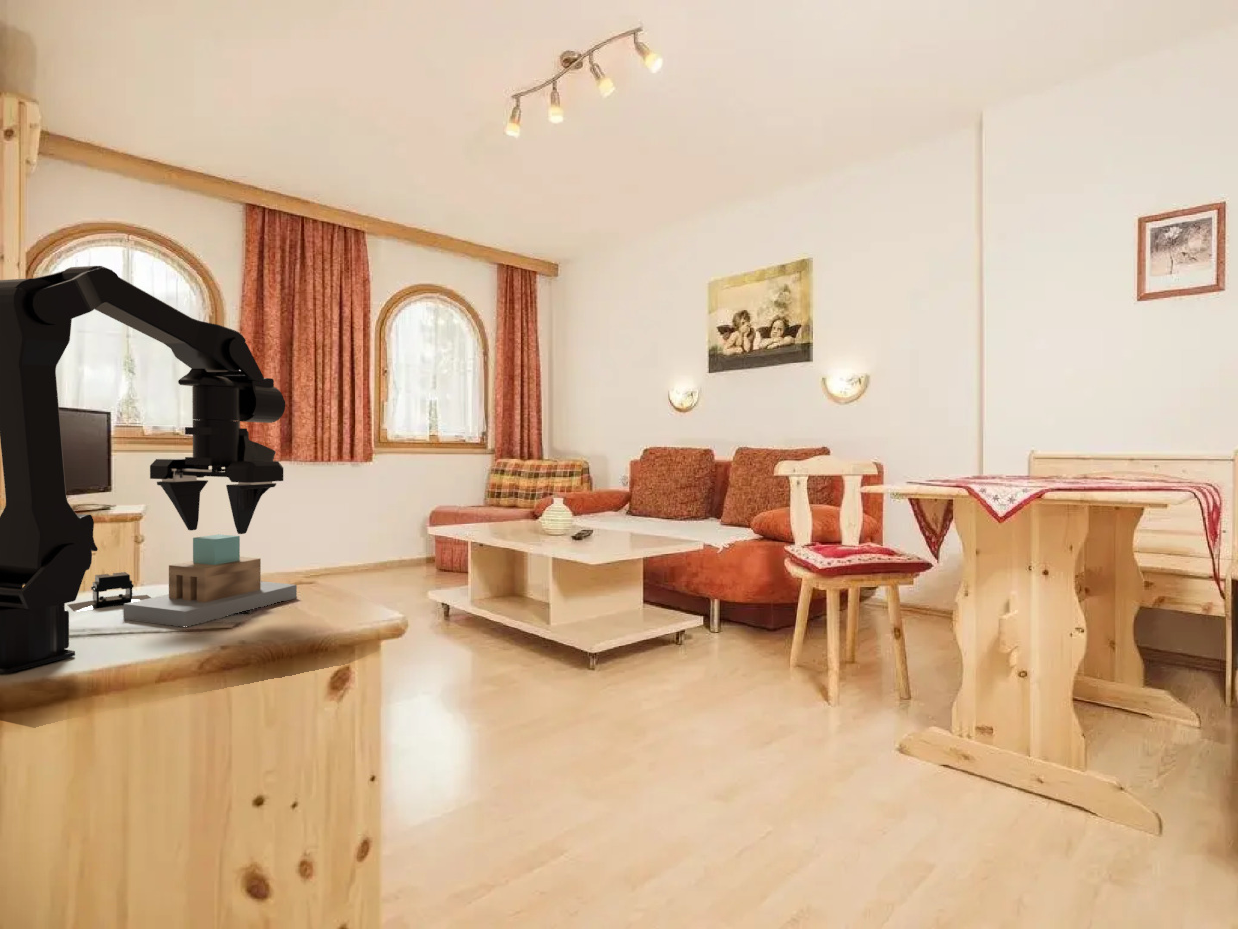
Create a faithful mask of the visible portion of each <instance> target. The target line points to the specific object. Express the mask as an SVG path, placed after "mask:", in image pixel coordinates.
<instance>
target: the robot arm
mask: <svg viewBox="0 0 1238 929" xmlns="http://www.w3.org/2000/svg"><path fill="white" fill-rule="evenodd" d="M94 310H95V311H97V312H99V313H101V314H103V315H105V316H107V317H110V318H112V319H113V320H115V321H117V322H119V323H122V324H124V325H125V326H127V327H130V328H132V329H133V330H136V331H138V332H140V333H142V334H144V335H145V336H148V337H149V338H152V339H153V340H156V341H158V342H159V343H162V344H164V345H165V346H166V347H168V348H169V349H171V352H172V353H173V355H174V357H175V359H177V360H178V361H180V362H182V363H183V364H185V366H187V367H188V368H190V370H189V372H188V373H187V374H184V375H183V376H182V377H181V378H179V379H178V380H177V383H178V384H179V386H187V387H188V386H189V387H192V389H191V391H192V396H191V397H192V401H191V402H192V426H191V427H190V426H188V427H187V426H185V427H184V435H188V436H189V435H192V456H185V457H184V458H155V460H154V461H153V462H152V463H151V464H150V465H149V479H151V480H161V481H156V485H157V486H160V487H161V488H162V490H163V491H164V492H165V494H166V496H167V497H168V498H169V500H170V502H172V503H171V504H173V506H174V508H175V510H176V512H177V513H178V514H179V516H180V518H181V520H182V522H183V523H184V525H185V527H186V528H187V531H196V530H197V529H198V524H199V520H200V518H199V516H200V503H201V502H200V498H201V492H202V491H203V489H204V488H205V487H206V485H207V484H208V483H209V480H207V479H206V480H205V479H201V478H204V477H214V478H215V477H216V478H228V479H229V481H230V482H231V483H233V484H226V485H225V486H226V491H227V496H228V499H229V500H228V501H229V504H230V508H231V514H232V518H233V522H234V527H235V529H236V532H237V534H238V535H243V534H246V533H247V531H248V529H249V526H250V524H251V521H252V518H253V516H254V514H255V513H254V512H256V509H257V506H258V504H259V501H260V500H261V498H262V496H263V495H264V494H265V493H267V491H268V490H270V489H271V488H275V487H276V486H277V483H276V482H284V467H283V466H282V464H281V463H280V462H279V461H276V460H274V458H275V456H276V453H277V452H276V451H277V450H274V449H272V448H270V447H267V446H265V445H263V444H261V443H259V442H257V441H252V440H251V439H250V435H249V433H250V432H249V431H248V428H241V422H242V423H245V422H246V423H263V424H265V423H266V424H267V423H268V424H272V423H275V422H277V421H279V420H280V419H281V418H282V417H283V415H284V413H285V410H286V400H285V398H284V396H283V394H282V392H281V391H280V389H279V388H277V387H276V386H274V384H275V381H274V379H273V378H269V377H264V375H263V373H262V370H261V369H260V367H259V365H258V363H257V361H256V359H255V358H254V356H253V354H252V352H251V350H250V348H249V346H248V344H247V342H246V341H247V340H246V338H245V337H244V336H243V334H241V333H240V332H239V331H237V330H235V329H232V328H229V327H226V326H224V325H221V324H216V323H212V322H207V321H203V320H198V319H195V318H192V317H190V316H189V315H187V314H185V313H184V312H182V311H181V310H178V309H177V308H174V307H173V306H171V305H169V304H167V303H165V301H162V300H160V298H159V299H158V298H157V297H156V296H154V295H152V294H149V293H148V292H146V291H145V290H143V289H141V288H139V287H137V286H136V285H134V284H132V283H130V282H128V281H126V280H125V279H123V278H122V277H119V275H118V274H117V273H116V272H115V271H113V269H110V268H108V267H105V266H103V265H88V266H86V265H85V266H73V267H72V266H71V267H69V268H65V269H64V270H61V271H58V272H55V273H52V274H46V275H42V276H38V277H33V278H19V279H18V278H17V279H0V448H1V449H0V450H1V451H0V452H1V461H2V472H3V482H4V492H5V493H4V494H5V507H4V509H3V511H2V512H1V514H0V674H10V673H14V672H19V671H22V670H26V669H30V668H34V667H38V666H42V665H45V664H49V663H53V662H56V661H57V662H58V661H61V660H64V659H67V658H72V657H75V656H76V651H75V650H71V649H68V648H69V647H70V611H69V610H67V609H66V608H65V607H66V606H65V605H66V604H69V603H74V602H75V601H76V600H77V597H78V594H79V591H80V589H81V585H82V582H83V580H84V578H85V574H86V571H88V570H90V568H91V565H92V561H93V552H98V547H97V545H96V543H95V540H94V539H95V538H94V527H95V526H94V525H95V521H94V518H93V515H92V514H85V513H83V514H81V513H76V511H75V510H74V509H73V507H72V505H70V503H69V501H68V498H67V488H66V478H65V468H64V466H65V465H64V454H63V442H62V430H61V418H60V417H61V416H60V407H59V406H60V405H59V396H58V395H59V394H58V393H59V392H58V383H57V372H56V370H57V367H58V366H57V365H58V364H59V362H60V361H61V358H62V356H63V355H64V352H65V351H66V350H67V347H68V345H69V343H70V341H71V333H72V323H73V322H72V321H73V319H75V318H78V317H80V316H83V315H86V314H89V313H91V312H93V311H94ZM210 467H211V469H210ZM198 478H200V479H198ZM274 482H275V483H274ZM234 483H235V484H234Z"/></svg>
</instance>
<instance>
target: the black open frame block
mask: <svg viewBox="0 0 1238 929" xmlns="http://www.w3.org/2000/svg"><path fill="white" fill-rule="evenodd" d="M134 586H135V585H134V584H133V581H132V580H131V575H130V574H129V573H127V572H125V571H122V572H121V571H120V572H113V573H112V575H111V574H109V573H102V574H95V575H94V581H92V586H90V590H92V600H89V601H79V602H76V603H75V602H73V603H67V607H68V608H70V609H71V610H72V611H73V612H82V611H88V610H89V611H90V610H97V609H104V608H112V607H120V606H123V604H125V603H130V602H134V601H139V600H144V599H149V598H152V597H151V596H149V595H148V594H142V595H133V588H134ZM117 589H118V590H119V589H121V590H125V594H123V593H120V594H118V595H112V596H103V595H102V596H101V595H100V592H101V593H103V592H107V591H108V590H117Z"/></svg>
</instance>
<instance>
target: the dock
mask: <svg viewBox="0 0 1238 929" xmlns="http://www.w3.org/2000/svg"><path fill="white" fill-rule="evenodd" d="M297 587H298V586H297V584H293V583H282V582H273V581H272V582H271V581H261V589H260V590H256V591H252V592H247V593H243V594H239V595H235V596H230V597H226V598H222V599H217V600H213V601H209V602H197V599H196V600H192V601H188V600H183V598H179V599H171V598H169V593H168V594H164V595H159V596H158V595H157V596H155V597H151V598H149V599H144V600H139V601H134V602H130V603H125V604H123V605H122V606H123V609H122V610H123V611H122V612H123V614H122V615H123V620H126V621H127V620H129V621H134V622H135V621H137V622H141V623H142V622H143V623H150V624H157V625H158V624H159V625H164V624H165V625H164V626H171V625H174V626H173V627H178V626H185V627H184V628H187V627H186V626H189V627H192V626H191V625H193V626H195V625H194V624H197V625H200V624H199V623H201V624H204V623H208V622H211V621H210V620H212V621H214V620H213V619H216V620H219V619H223V618H226V617H225V616H227V615H230V614H233V613H238V614H240V613H239V612H242V611H245V610H249V609H253V608H257V609H259V608H258V607H261V608H265V607H268V606H272V605H275V604H274V603H276V604H278V603H277V602H280V603H282V602H281V601H284V602H287V601H290V600H295V599H297V593H298V592H297V589H298V588H297ZM271 604H272V605H271ZM267 605H268V606H267ZM264 606H265V607H264ZM253 610H254V609H253ZM242 613H243V612H242ZM222 617H223V618H222ZM227 617H228V616H227ZM207 621H208V622H207ZM203 622H204V623H203Z"/></svg>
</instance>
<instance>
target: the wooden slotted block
mask: <svg viewBox="0 0 1238 929" xmlns="http://www.w3.org/2000/svg"><path fill="white" fill-rule="evenodd" d="M260 589H261V558H259V557H245V556H240V561H234V562H229V563H223V564H218V565H209V564H199V563H193V560H192V561H191V560H190V561H187V562H186V561H185V562H180V563H175V564H174V563H173V564H169V565H168V594H169V598H171V599H179V598H183V600H188V601H192V600H196V599H197V602H209V601H213V600H217V599H222V598H226V597H230V596H235V595H239V594H243V593H247V592H252V591H256V590H260Z"/></svg>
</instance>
